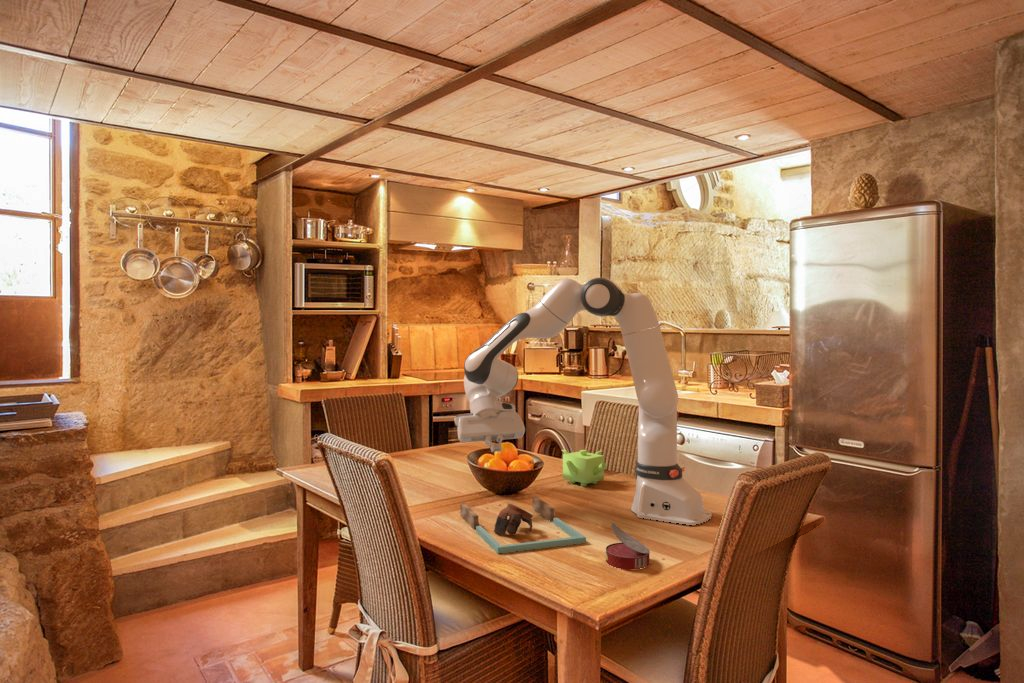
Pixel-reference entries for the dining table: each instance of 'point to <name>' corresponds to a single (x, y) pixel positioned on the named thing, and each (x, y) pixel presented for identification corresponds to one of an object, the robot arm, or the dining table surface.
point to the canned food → (626, 551)
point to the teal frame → (575, 539)
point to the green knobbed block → (583, 467)
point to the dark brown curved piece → (511, 520)
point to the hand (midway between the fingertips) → (497, 450)
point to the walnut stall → (536, 505)
